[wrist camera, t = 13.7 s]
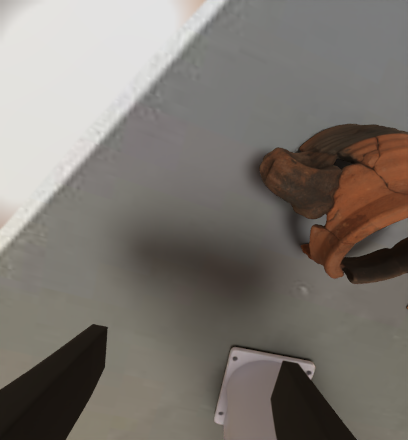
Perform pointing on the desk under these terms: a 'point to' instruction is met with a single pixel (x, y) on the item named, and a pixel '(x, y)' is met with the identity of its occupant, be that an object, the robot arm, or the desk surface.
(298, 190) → the broken clay pot
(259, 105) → the desk surface
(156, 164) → the desk surface
